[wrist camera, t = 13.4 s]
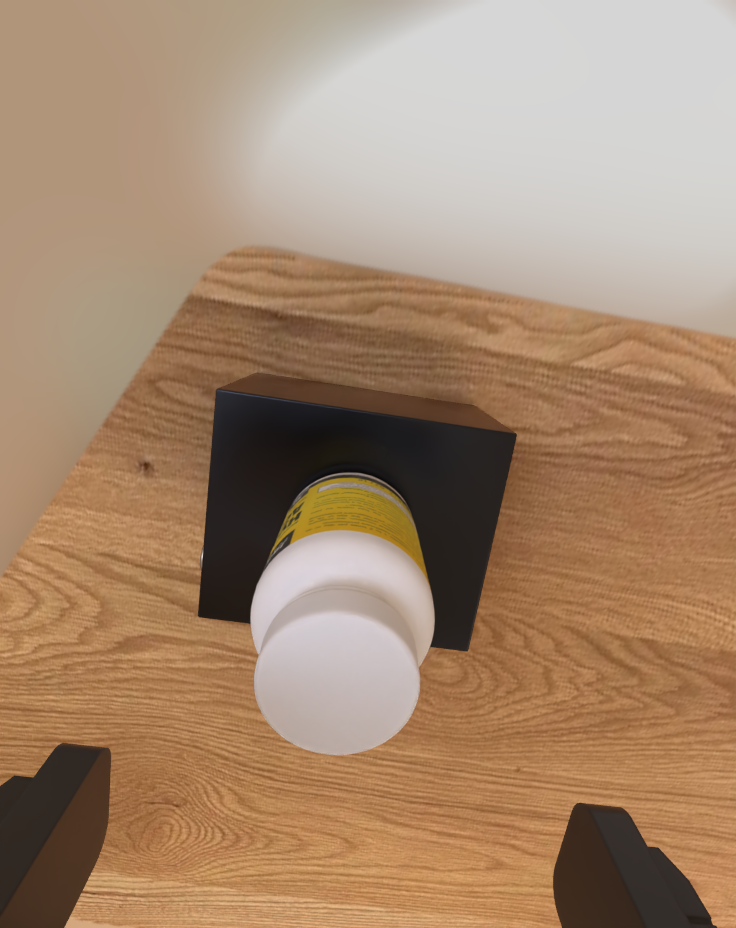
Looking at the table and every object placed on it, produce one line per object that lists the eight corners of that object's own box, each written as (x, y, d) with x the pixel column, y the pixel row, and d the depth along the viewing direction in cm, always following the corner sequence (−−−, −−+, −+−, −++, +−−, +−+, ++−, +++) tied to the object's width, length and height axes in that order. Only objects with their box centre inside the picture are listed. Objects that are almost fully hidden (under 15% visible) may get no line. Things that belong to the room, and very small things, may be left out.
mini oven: (225, 542, 30) (178, 615, 23) (241, 369, 28) (195, 385, 20) (441, 572, 31) (468, 652, 23) (475, 405, 29) (517, 433, 21)
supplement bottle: (291, 460, 21) (235, 567, 12) (424, 479, 21) (475, 600, 12) (276, 582, 22) (215, 768, 13) (402, 598, 23) (432, 793, 13)
